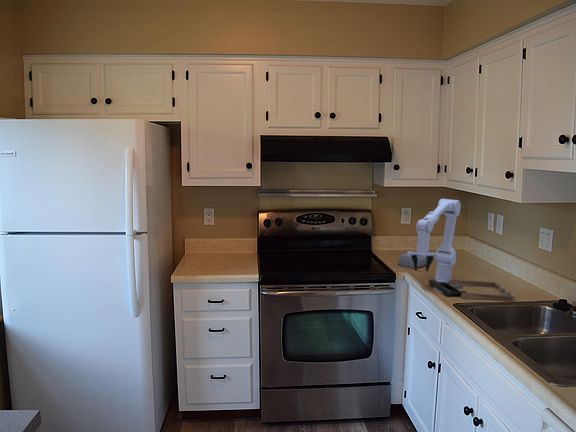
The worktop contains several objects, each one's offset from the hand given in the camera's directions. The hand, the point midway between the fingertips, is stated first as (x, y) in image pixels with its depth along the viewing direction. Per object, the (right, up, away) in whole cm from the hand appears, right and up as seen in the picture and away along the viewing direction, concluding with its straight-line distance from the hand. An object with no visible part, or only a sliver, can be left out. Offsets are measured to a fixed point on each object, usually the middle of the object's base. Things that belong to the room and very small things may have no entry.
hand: (421, 270), depth 220 cm
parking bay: (+29, -11, -1) cm, 31 cm away
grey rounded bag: (+11, -3, +51) cm, 53 cm away
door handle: (+14, -11, 0) cm, 18 cm away
